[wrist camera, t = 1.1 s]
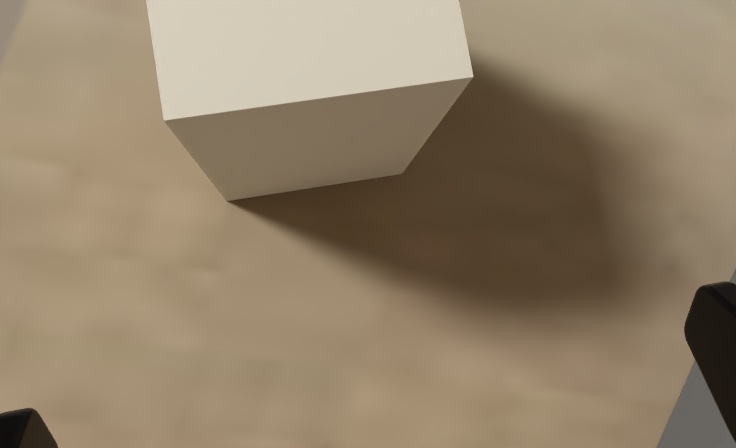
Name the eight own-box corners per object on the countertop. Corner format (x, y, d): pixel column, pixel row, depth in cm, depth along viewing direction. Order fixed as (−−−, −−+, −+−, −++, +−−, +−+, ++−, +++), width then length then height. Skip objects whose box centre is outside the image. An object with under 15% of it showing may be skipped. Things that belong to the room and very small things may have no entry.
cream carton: (406, 173, 23) (480, 76, 13) (226, 201, 22) (164, 120, 13) (376, 8, 24) (425, -204, 14) (200, 30, 23) (120, -175, 13)
